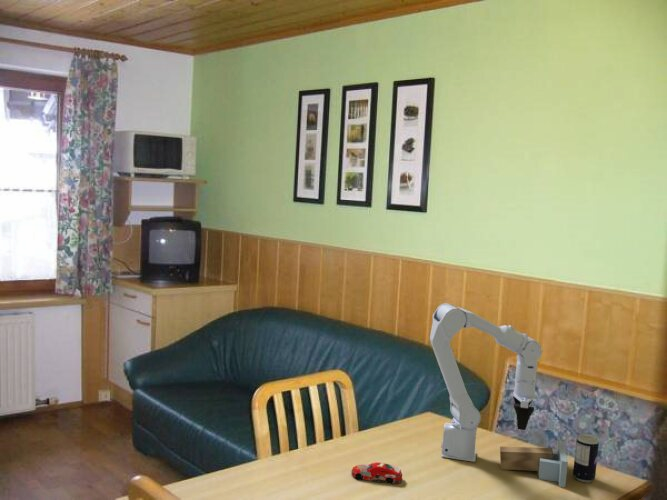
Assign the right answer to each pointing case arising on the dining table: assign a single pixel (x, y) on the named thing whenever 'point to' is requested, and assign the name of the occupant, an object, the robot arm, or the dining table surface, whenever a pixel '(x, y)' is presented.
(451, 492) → the dining table surface
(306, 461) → the dining table surface
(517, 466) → the brown wooden block
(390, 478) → the race car
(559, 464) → the pale blue bench
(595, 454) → the beverage can
